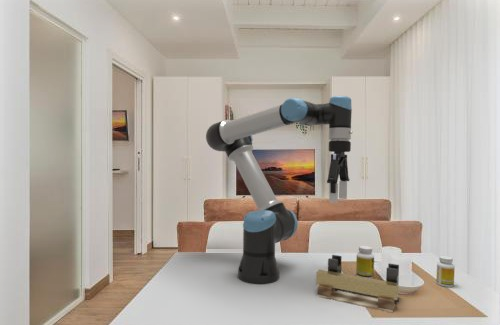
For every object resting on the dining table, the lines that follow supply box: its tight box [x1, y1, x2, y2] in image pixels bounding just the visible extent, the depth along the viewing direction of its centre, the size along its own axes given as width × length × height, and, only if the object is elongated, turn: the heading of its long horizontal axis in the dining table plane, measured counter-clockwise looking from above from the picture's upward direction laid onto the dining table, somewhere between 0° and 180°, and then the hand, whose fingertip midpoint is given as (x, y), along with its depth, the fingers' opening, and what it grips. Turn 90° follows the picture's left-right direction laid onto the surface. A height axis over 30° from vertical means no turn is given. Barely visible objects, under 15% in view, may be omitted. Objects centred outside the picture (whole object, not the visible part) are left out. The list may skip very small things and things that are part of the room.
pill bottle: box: [355, 245, 375, 279], centre depth 126 cm, size 6×6×11 cm
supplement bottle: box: [435, 255, 455, 288], centre depth 120 cm, size 5×5×10 cm
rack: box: [327, 254, 400, 305], centre depth 110 cm, size 22×6×10 cm, turn 62°
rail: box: [315, 268, 399, 300], centre depth 105 cm, size 24×3×4 cm, turn 62°
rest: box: [316, 285, 396, 313], centre depth 105 cm, size 22×7×3 cm, turn 62°
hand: (338, 200), depth 121 cm, fingers open, 13 cm apart
